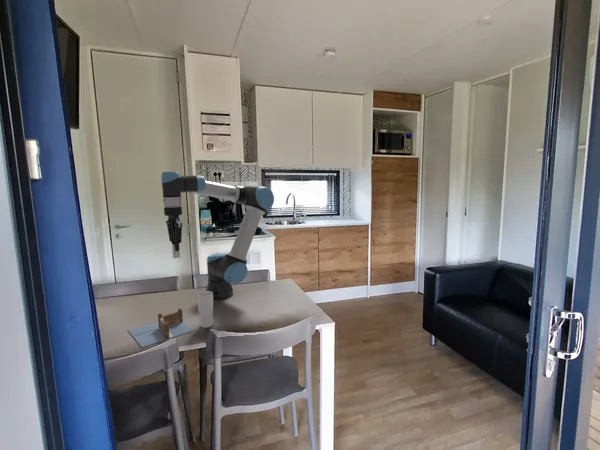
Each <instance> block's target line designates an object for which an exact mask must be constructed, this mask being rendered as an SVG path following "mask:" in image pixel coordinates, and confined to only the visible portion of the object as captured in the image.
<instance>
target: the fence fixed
mask: <svg viewBox="0 0 600 450" xmlns="http://www.w3.org/2000/svg"><path fill="white" fill-rule="evenodd" d="M163 320H164V321H165V323H169V326H170V325H173V324H176V323H179V322H184V316H183V308H181V307H180V308H177V311H175V312H171V313H167V314H165V315H164V314H163Z"/></svg>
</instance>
